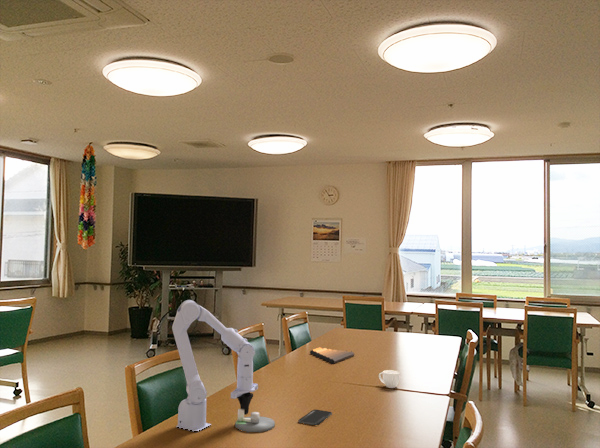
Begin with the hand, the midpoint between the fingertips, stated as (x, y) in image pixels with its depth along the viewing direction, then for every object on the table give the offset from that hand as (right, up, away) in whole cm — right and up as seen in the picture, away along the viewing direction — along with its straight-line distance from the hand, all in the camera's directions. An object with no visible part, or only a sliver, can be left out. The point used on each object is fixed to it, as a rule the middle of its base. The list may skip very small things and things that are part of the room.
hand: (244, 413), depth 182 cm
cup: (+61, -7, +51) cm, 80 cm away
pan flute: (+35, -10, +112) cm, 118 cm away
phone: (+26, -4, +5) cm, 27 cm away
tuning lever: (+2, -2, -2) cm, 3 cm away
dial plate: (+4, -3, -3) cm, 6 cm away
